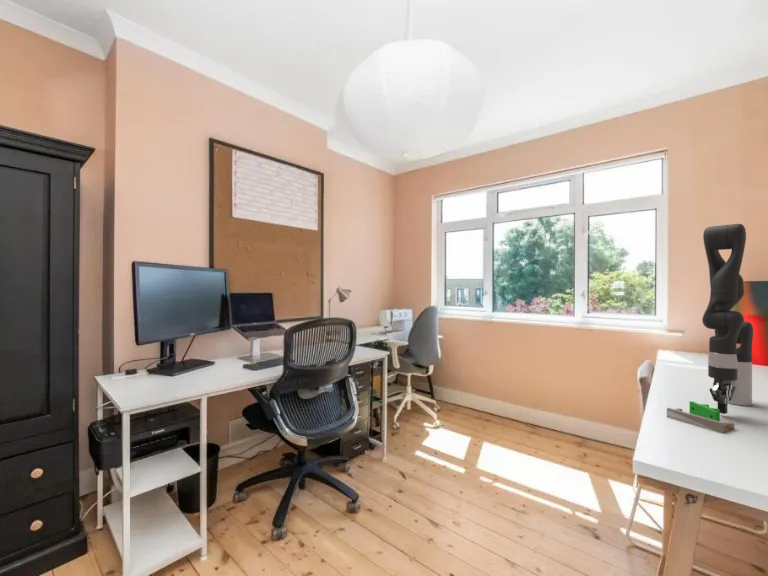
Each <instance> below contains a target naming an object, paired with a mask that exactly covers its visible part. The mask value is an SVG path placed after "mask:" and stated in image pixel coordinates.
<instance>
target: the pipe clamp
mask: <svg viewBox="0 0 768 576" xmlns="http://www.w3.org/2000/svg"><path fill="white" fill-rule="evenodd" d="M689 413H690V414H694V415H697V416H701V417H705V418H708V419H712V420H716V421H719V422H721V413H720V409H718V408H716V407H715V408H714V407H710V405H709V404H705V403H704V404H702V403H699V402H695V401H690V400H689Z"/></svg>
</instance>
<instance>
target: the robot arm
mask: <svg viewBox="0 0 768 576" xmlns="http://www.w3.org/2000/svg"><path fill="white" fill-rule="evenodd" d="M702 235H703V236H702V237H703V238H702V239H703V245H704V250H705V254H706V258H707V263H708V272H709V273H708V274H709V286H710V294H709V295H710V296H709V301H708V304H707V307H706V310H705V311H704V313H703V314H702V315H703V316H702V320H701V321H702V324H703V326H704V327H705V328H706V329H709V330H714V336H713V335H711V336H710V338H709V341H708V344H709V345H708V351H709V352H708V356H707V357H708V361H707V364H708V365H707V370H708V371H707V374H708V375H707V376H708V377H709V378H712V379H713V382H712V387H710V388H709V392H710V395H711V397H712V399H713V401H714V402H716V403H717V409H720V414H722V415H726V414H728V411H729V410H728V407H729V406H728V404H731V405H737V406H744V407H745V406H747V407H748V406H752V405H753V339H754V326H753V324H752V323H751V322H749V321H745V318H744V316H743V314H742V313H741V312H740V311H736V310H733V308H734V307H735V306H736V305H737V304H738V303H739V302H740V301H741V300H742V298H743V297H744V296H745V286H744V279H743V277H742V275H741V274H740V272H741V271H740V270H741V267H742V263H743V257H744V252H745V248H746V240H747V231H746V227H745V226H744V225H743V223H742V224H741V223H730V224H721V225H712V226H708V227H706V228H705V229H704V231H703V233H702ZM723 250H731V252H730V256H729V258H728V259H727V261H726V260H725V259H724V258H723V256H722V255H721V253H720V251H723ZM737 345H740V346H738V347H737Z"/></svg>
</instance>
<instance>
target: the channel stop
mask: <svg viewBox="0 0 768 576" xmlns="http://www.w3.org/2000/svg"><path fill="white" fill-rule="evenodd" d="M666 417H667V418H669V419H673V420H676V421H680V422H683V423H687V424H691V425H693V424H694V426H696V425H697V427H700V426H701V427H700V428H703V427H705V428H704V429H707V428H708V429H707V430H710V429H711V431H714V430H715V431H714V432H717V433H720V432H721V433H720V434H723V433H726V432H729V431H732V430H734V429H735V422H733V421H729V422H722V421H720V422H719V421H716V420H712V419H708V418H705V417H701V416H697V415H694V414H691V413H690V412H687V411H683V408H678V407H677V408H672V407H667V408H666Z"/></svg>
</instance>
